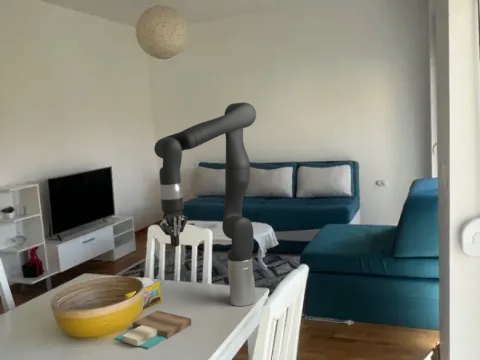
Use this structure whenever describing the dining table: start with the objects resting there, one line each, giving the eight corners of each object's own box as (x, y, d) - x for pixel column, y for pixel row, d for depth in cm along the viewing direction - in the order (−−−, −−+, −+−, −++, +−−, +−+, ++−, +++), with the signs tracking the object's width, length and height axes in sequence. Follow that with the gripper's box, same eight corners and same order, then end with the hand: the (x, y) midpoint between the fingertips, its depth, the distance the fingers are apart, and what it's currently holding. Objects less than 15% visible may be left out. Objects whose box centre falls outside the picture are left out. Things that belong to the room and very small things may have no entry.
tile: (142, 330, 162) (142, 324, 162) (157, 334, 158) (157, 328, 158) (122, 341, 155) (121, 335, 154) (137, 346, 151) (137, 340, 150)
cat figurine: (150, 279, 188) (144, 270, 199) (128, 297, 185) (123, 287, 196) (163, 294, 191) (156, 285, 202) (142, 313, 188) (136, 302, 199)
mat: (133, 329, 164) (133, 328, 164) (165, 338, 156) (165, 337, 156) (115, 339, 158) (115, 337, 158) (148, 349, 149) (148, 347, 149)
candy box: (129, 317, 175) (127, 295, 174) (126, 316, 177) (124, 294, 176) (162, 302, 188) (160, 282, 187) (158, 301, 189) (156, 281, 188)
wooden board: (157, 316, 175) (157, 310, 174) (191, 324, 166) (190, 318, 165) (133, 329, 165) (132, 322, 165) (167, 338, 156) (167, 332, 156)
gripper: (166, 200, 157) (170, 252, 159) (192, 194, 167) (195, 242, 170) (149, 199, 161) (154, 249, 163) (176, 193, 172) (179, 240, 174)
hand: (175, 246), depth 166 cm, fingers closed
